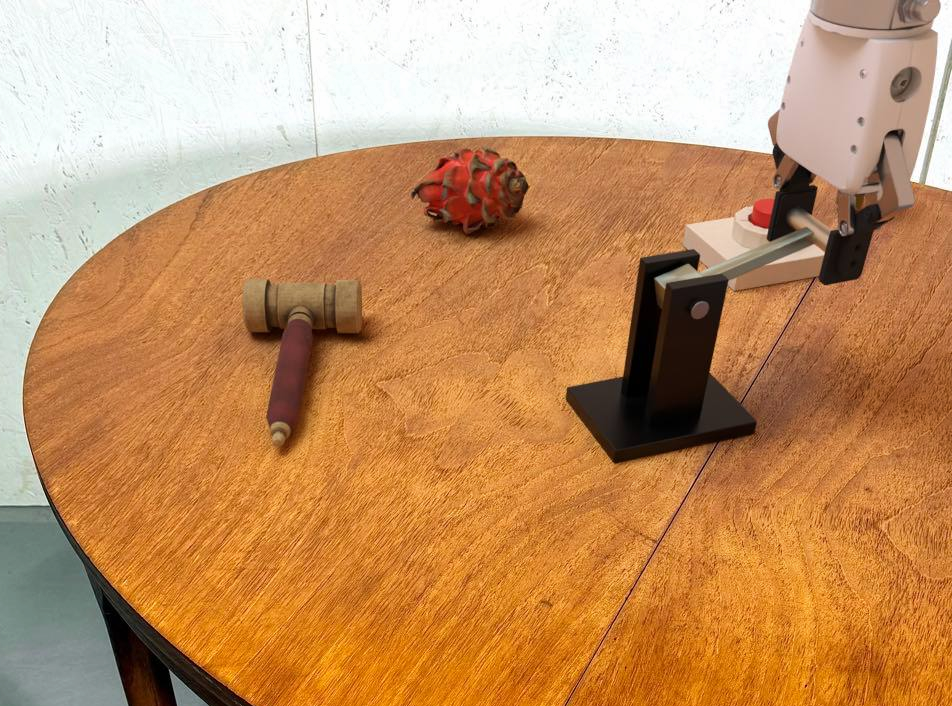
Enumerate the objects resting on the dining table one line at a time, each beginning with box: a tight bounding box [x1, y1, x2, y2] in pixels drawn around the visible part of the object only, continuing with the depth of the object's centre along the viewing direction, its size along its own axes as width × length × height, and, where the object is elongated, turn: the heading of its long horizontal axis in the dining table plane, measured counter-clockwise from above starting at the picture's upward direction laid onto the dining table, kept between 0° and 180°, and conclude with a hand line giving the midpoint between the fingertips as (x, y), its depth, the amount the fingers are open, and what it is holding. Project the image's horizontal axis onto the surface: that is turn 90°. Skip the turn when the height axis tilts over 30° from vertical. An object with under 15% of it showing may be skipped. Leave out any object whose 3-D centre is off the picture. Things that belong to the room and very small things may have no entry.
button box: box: [682, 205, 825, 292], centre depth 103 cm, size 12×10×4 cm
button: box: [750, 198, 775, 229], centre depth 101 cm, size 4×4×2 cm
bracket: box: [565, 249, 758, 464], centre depth 80 cm, size 12×9×13 cm
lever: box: [654, 207, 833, 309], centre depth 77 cm, size 13×6×2 cm, turn 107°
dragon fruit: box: [410, 146, 531, 235], centre depth 108 cm, size 8×8×12 cm
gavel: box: [241, 278, 363, 448], centre depth 87 cm, size 21×5×10 cm
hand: (812, 257), depth 79 cm, fingers closed on lever, 6 cm apart
